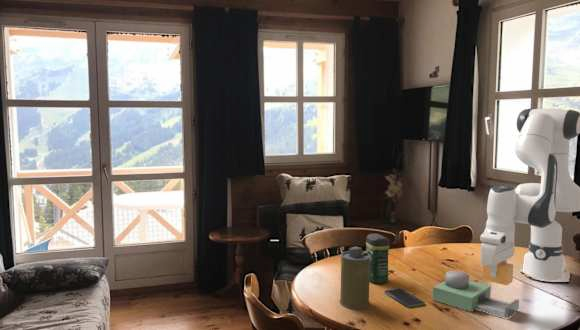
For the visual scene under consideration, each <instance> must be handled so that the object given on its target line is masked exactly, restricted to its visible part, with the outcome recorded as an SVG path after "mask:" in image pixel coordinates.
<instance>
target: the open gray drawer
mask: <svg viewBox="0 0 580 330" xmlns="http://www.w3.org/2000/svg"><path fill="white" fill-rule="evenodd" d="M519 307H520V300H519V299H518V298H517V299H514V300H513V301H512V302H508V301H505V300H500V299H497V298H493V297H491V296H490V297H485V301H484V302H483V303H481V304H480V303H476V304H475V309H478V310H481V311H485V312H488V313H491V314H494V315H497V316H500V317H504V318H507V319H508V318H509V317H510V316H512V315H513V314H514V313H515V312H516V311H517V310H518V309H519ZM519 310H520V309H519ZM515 314H516V313H515ZM515 314H514V315H515ZM514 315H513V316H514ZM497 316H496V317H497ZM513 316H512V317H513ZM500 317H499V318H500ZM510 318H511V317H510ZM510 318H509V319H510ZM507 319H506V320H507ZM509 319H508V320H509Z"/></svg>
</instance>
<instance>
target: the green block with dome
mask: <svg viewBox="0 0 580 330" xmlns="http://www.w3.org/2000/svg"><path fill="white" fill-rule="evenodd" d="M432 288H433V289H432V301H433V300H434V301H433V302H436V301H438V302H437V303H439V302H441V303H440V304H442V303H445V304H444V305H446V304H448V305H447V306H449V305H451V306H450V307H452V306H455V307H459V308H462V309H465V310H469V311H472V310H474V309H475V304H476V303H480V304H481V303H483V302H484V301H485V297H490V298H491V289H492V287H491V285H489V284H484V283H481V282H476V281H472V280H470V275H469V274H468V273H467V272H465V271H459V270H448V271H446V272H445V279H444V281H443V282H440V283H438V284H437V285H434V286H432ZM455 307H454V308H455ZM462 309H461V310H462ZM465 310H464V311H465ZM474 311H475V310H474ZM472 312H473V311H472Z"/></svg>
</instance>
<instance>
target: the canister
mask: <svg viewBox="0 0 580 330" xmlns="http://www.w3.org/2000/svg"><path fill="white" fill-rule="evenodd" d="M370 258H371V255H370V254H369V252H367V250H366V251H365V250H363V248H362V247H359V246H357V245H356V246H353V247H349V248H348V251H343V252H341V253H340V259H341V260H340V299H339V304H340V305H341V306H343V308H346V309H353V310H360V309H361V310H362V309H363V310H364V309H366V308H368V307H369V306H370V281H369V279H370Z"/></svg>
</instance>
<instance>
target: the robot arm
mask: <svg viewBox="0 0 580 330" xmlns="http://www.w3.org/2000/svg"><path fill="white" fill-rule="evenodd" d="M516 128H517V131H518V132H519V135H518V137H517V140H516V143H515V150H514V151H515V154H516V158H517V159H519V160H520V161H521V162H522V163H523V164H524V165H526V166H528V167H530V168H532V169H534V170H536V171H538V173H539V174H541V176H540V177H541V178H540V183H538V182H528V183H527V182H526V183H520V184H518V185H517V186H516V187H513V186H511V185H508V184H507V185H506V184H501V185H500V184H499V185H494V186H492V187H491V188H490V190H489V193H488V197H487V203H486V204H487V205H486V213H487V219H486V222H485V228H484V231H483V233H482V234H480V240H479V241H480V242H481V246H480V247H481V248H480V262H481V264H482V266H483V265H484V266H488V267H489V268H490V271H491V273H490V275H491V276H492V277H496V276H497V275H498V274H497V273H498V271H497V268H496V267H497V265H498V264H499V263H501V262H504V263H508V259H511V258H512V257H514V255H515V233H516V232H515V231H516V223H517V224H518V223H519V224H524V225H529V226H530V240H529V244H528V251H527V252H526V253H525V254H524V257H523V266H522V268H523V270H521V269H522V268H519V269H520V270H521V271H523V272H524V273H526V274H528V275H530V276H532V277H536V278H540V279H547V280H558V279H563V274H564V273H566V272H567V270H568V269H566V263H567V262H566V259H565V257H564V255H563V248H564V245H563V243H562V238H563V228H562V225H561V224H560V223H559V222H557V220H555V219H556V213H557V212H559V213H574V212H580V186H579V185H578V184H577V183H575V181H574V180H573V179H572V177H571V175H570V171H569V157H570V141H571V140H572V139H575V137H576V138H577V136H579V135H580V111H577V110H573V109H562V108H553V107H552V108H551V107H550V108H526V109H523V110H521V111H520V112H519V113H518V116H517V118H516Z"/></svg>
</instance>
